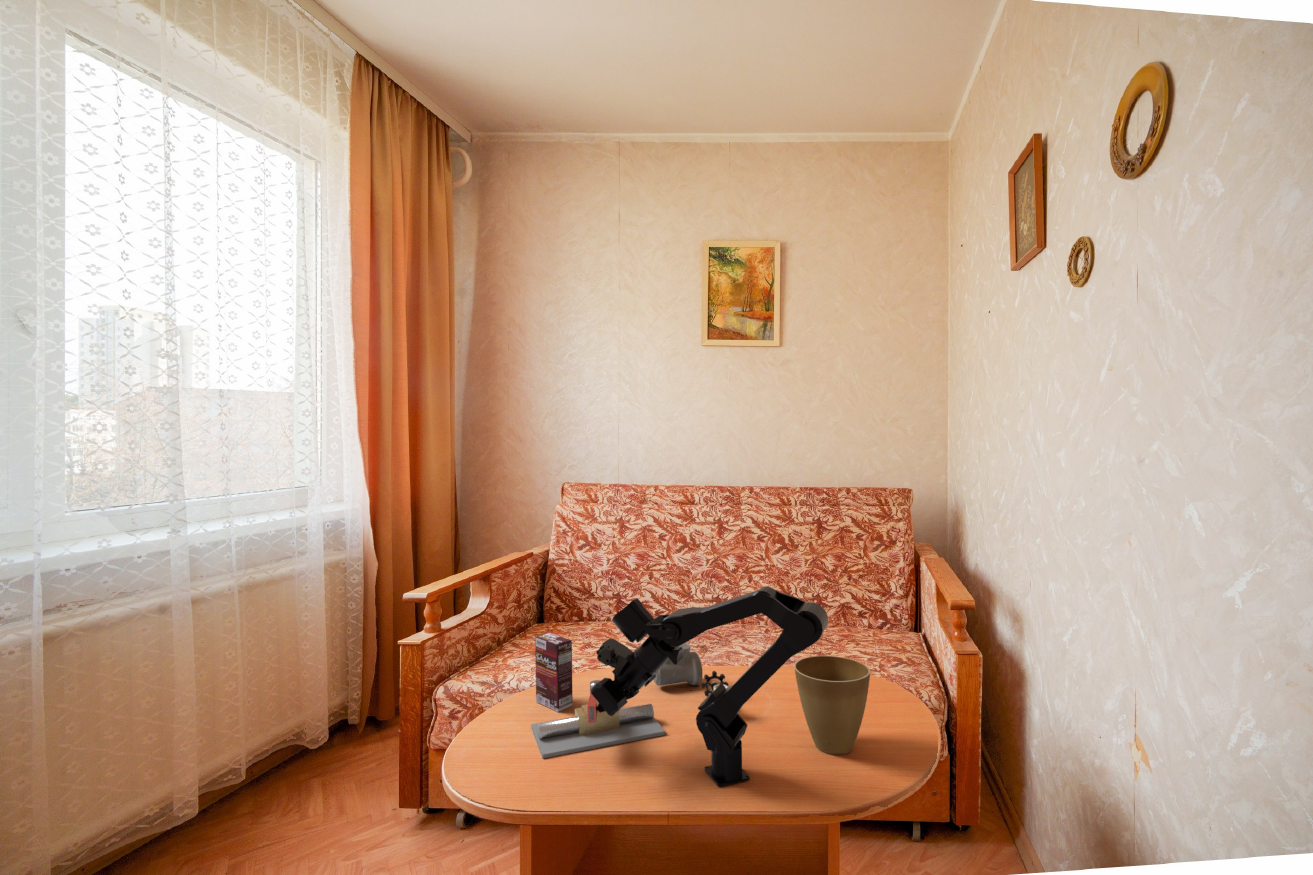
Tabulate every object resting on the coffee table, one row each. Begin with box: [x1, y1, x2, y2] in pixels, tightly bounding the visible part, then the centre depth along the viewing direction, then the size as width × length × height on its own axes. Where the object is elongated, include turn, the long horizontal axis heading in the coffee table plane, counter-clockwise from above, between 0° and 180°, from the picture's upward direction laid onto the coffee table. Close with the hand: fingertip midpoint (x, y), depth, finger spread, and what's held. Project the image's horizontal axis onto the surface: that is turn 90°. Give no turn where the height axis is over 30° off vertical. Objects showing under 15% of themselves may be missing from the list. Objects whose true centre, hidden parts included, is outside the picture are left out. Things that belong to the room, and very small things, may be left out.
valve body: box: [537, 703, 655, 739], centre depth 134 cm, size 25×4×6 cm, turn 110°
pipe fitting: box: [652, 642, 703, 687], centre depth 158 cm, size 12×8×10 cm
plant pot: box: [793, 655, 871, 755], centre depth 127 cm, size 15×15×16 cm
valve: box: [700, 670, 730, 697], centre depth 145 cm, size 7×7×12 cm
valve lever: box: [587, 679, 601, 723], centre depth 129 cm, size 13×3×3 cm, turn 1°
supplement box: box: [534, 632, 574, 713], centre depth 148 cm, size 9×5×16 cm, turn 48°
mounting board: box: [530, 704, 666, 759], centre depth 134 cm, size 26×14×1 cm, turn 110°
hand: (600, 708), depth 127 cm, fingers closed
